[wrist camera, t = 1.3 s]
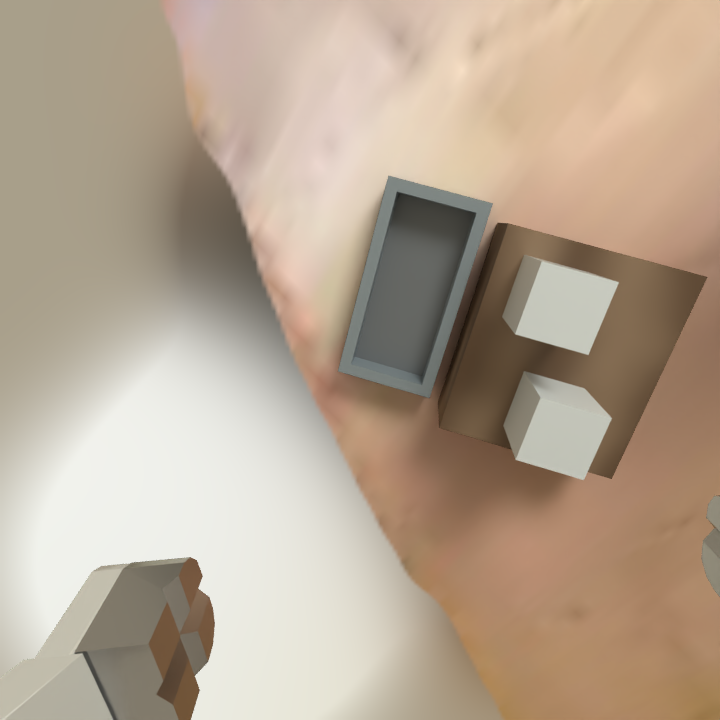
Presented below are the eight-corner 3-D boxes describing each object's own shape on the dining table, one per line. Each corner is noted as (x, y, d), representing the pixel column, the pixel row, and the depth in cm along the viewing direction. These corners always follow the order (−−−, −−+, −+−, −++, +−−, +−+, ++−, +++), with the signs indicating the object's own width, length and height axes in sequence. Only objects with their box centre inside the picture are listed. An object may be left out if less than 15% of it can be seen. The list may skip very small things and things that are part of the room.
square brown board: (668, 269, 34) (707, 276, 29) (588, 446, 38) (611, 478, 33) (497, 223, 34) (508, 223, 30) (438, 402, 39) (439, 427, 34)
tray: (488, 204, 34) (492, 203, 32) (429, 386, 38) (429, 398, 36) (391, 178, 35) (388, 175, 32) (343, 362, 39) (337, 371, 36)
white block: (588, 272, 30) (618, 282, 25) (564, 334, 31) (588, 355, 26) (524, 254, 30) (541, 261, 25) (501, 316, 31) (514, 334, 26)
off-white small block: (584, 388, 32) (612, 418, 27) (561, 442, 33) (583, 479, 28) (524, 370, 32) (540, 397, 27) (503, 425, 33) (515, 459, 28)
